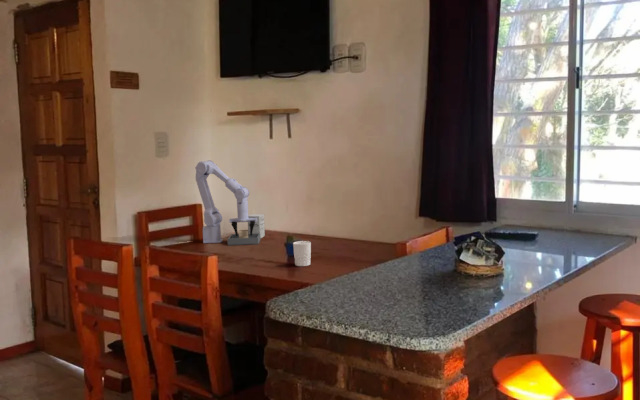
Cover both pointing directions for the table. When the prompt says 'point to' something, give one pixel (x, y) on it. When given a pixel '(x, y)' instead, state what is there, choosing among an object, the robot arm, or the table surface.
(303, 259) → the white cup
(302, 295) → the table surface
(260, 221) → the supplement box
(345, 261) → the table surface
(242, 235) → the birch block
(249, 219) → the robot arm
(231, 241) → the serving tray
